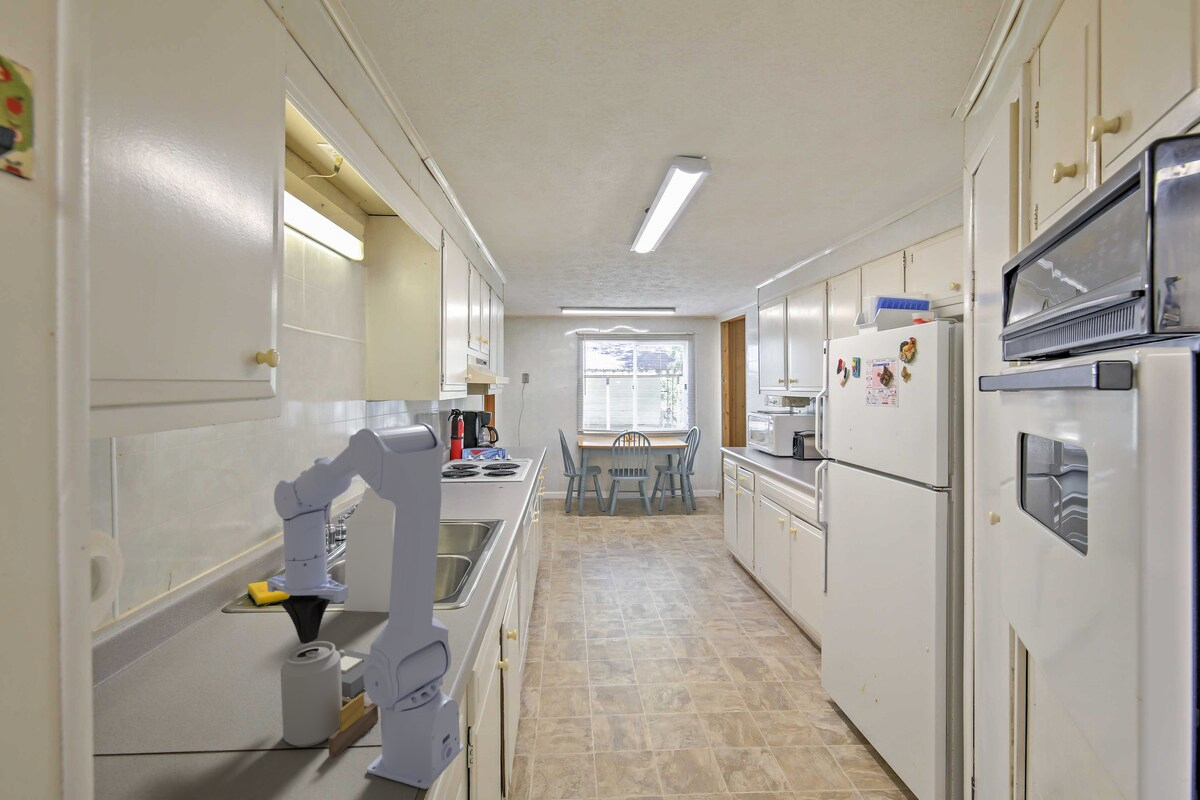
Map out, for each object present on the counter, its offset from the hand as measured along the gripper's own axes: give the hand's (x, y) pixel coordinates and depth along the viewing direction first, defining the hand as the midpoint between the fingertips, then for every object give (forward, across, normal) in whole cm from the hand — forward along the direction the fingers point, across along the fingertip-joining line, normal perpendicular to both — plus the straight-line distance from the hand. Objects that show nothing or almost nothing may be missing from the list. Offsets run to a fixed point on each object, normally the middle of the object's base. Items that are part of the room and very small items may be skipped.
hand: (309, 640), depth 84 cm
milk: (+10, +16, -34) cm, 39 cm away
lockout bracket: (+9, -9, +5) cm, 14 cm away
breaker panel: (+9, -1, -6) cm, 11 cm away
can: (+10, -7, +6) cm, 13 cm away
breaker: (+9, -1, -6) cm, 11 cm away
